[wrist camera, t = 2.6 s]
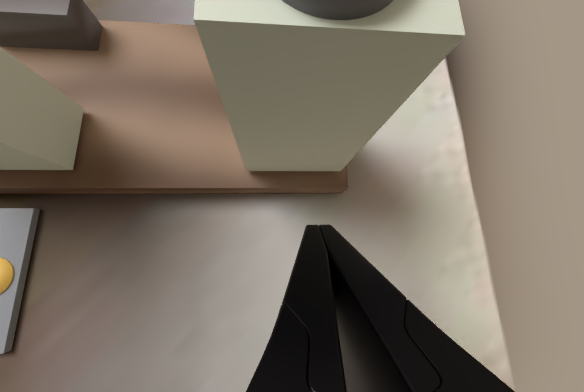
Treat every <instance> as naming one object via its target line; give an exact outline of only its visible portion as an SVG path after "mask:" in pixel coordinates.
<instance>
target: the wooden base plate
mask: <svg viewBox="0 0 584 392" xmlns="http://www.w3.org/2000/svg"><path fill="white" fill-rule="evenodd" d="M0 48H2V49H3V50H5V51H6V52H7V53H9V54H10V55H11V56H13V57H14V58H15V59H17V60H18V61H20V62H21V63H22V64H24V65H25V66H26V67H28V68H29V69H31V70H32V71H33V72H35V73H36V74H37V75H39V76H40V77H41V78H43V79H44V80H46V81H47V82H48V83H50V84H51V85H52V86H54V87H55V88H57V89H58V90H59V91H61V92H62V93H63V94H65V95H66V96H67V97H69V98H70V99H72V100H73V101H74V102H76V103H77V104H78V105H80V106H81V107H83V108H84V112H83V117H82V123H81V128H80V134H79V140H78V145H77V151H76V156H75V162H74V167H73V170H0V194H117V193H341V192H343V191H344V190H345V189H347V188H348V184H347V171H346V166H345V167H344V168H343V169H342V170H341V171H246V169H245V166H244V164H243V161H242V158H241V155H240V152H239V149H238V146H237V143H236V140H235V138H234V135H233V132H232V129H231V126H230V123H229V120H228V117H227V115H226V112H225V109H224V106H223V103H222V100H221V97H220V94H219V91H218V89H217V86H216V83H215V80H214V77H213V74H212V71H211V68H210V65H209V63H208V60H207V57H206V54H205V51H204V48H203V45H202V42H201V39H200V37H199V34H198V31H197V28H196V25H178V24H160V23H142V22H124V21H106V20H97V18H96V17H95V16H94V14H93V13H92V12H91V11H90V9H89V8H88V7H87V5H86V4H85V3H84V1H83V0H0Z"/></svg>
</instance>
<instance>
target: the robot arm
mask: <svg viewBox="0 0 584 392" xmlns="http://www.w3.org/2000/svg"><path fill="white" fill-rule="evenodd" d="M246 392H515V391H513V390H512V389H511V388H510V387H509V386H507V385H506V384H505V383H504V382H502V381H501V380H500V379H499V378H498V377H496V376H495V375H494V374H493V373H492V372H490V371H489V370H488V369H487V368H486V367H484V366H483V365H482V364H481V363H480V362H478V361H477V360H476V359H475V358H474V357H472V356H471V355H470V354H469V353H468V352H466V351H465V350H464V349H463V348H462V347H460V346H459V345H458V344H457V343H456V342H454V341H453V340H452V339H451V338H450V337H449V336H447V335H446V334H445V333H444V332H443V331H442V330H441V329H439V328H438V327H437V326H436V325H435V324H434V323H433V322H432V321H431V320H429V319H428V318H427V317H426V316H425V315H424V314H423V313H422V312H421V311H420V310H419V309H418V308H417V307H416V306H415V305H414V304H412V303H411V302H410V301H409V300H406V297H405V296H404V295H403V294H402V293H401V292H400V291H399V290H398V289H397V288H396V287H395V286H394V285H393V284H392V283H391V282H389V281H388V280H387V279H386V278H385V277H384V276H383V275H382V274H381V273H380V272H379V271H378V270H377V269H376V268H375V267H374V266H373V265H372V264H371V263H370V262H369V261H368V260H367V259H366V258H365V257H364V256H362V255H361V254H360V253H359V252H358V251H357V250H356V249H355V248H354V247H353V246H352V245H351V244H350V243H349V242H348V241H347V240H346V239H345V238H344V237H343V236H342V235H341V234H340V233H339V232H338V231H336V230H335V229H334V228H333V227H332V226H331V225H319V226H318V225H307V226H306V228H305V231H304V235H303V238H302V241H301V244H300V247H299V251H298V254H297V257H296V260H295V263H294V267H293V270H292V273H291V276H290V280H289V283H288V286H287V289H286V292H285V296H284V299H283V302H282V305H281V308H280V311H279V314H278V318H277V320H276V323H275V326H274V329H273V332H272V335H271V337H270V340H269V342H268V344H267V347H266V349H265V351H264V354H263V356H262V358H261V360H260V363H259V365H258V367H257V369H256V371H255V373H254V376H253V378H252V380H251V382H250V384H249V386H248V388H247V391H246Z"/></svg>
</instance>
